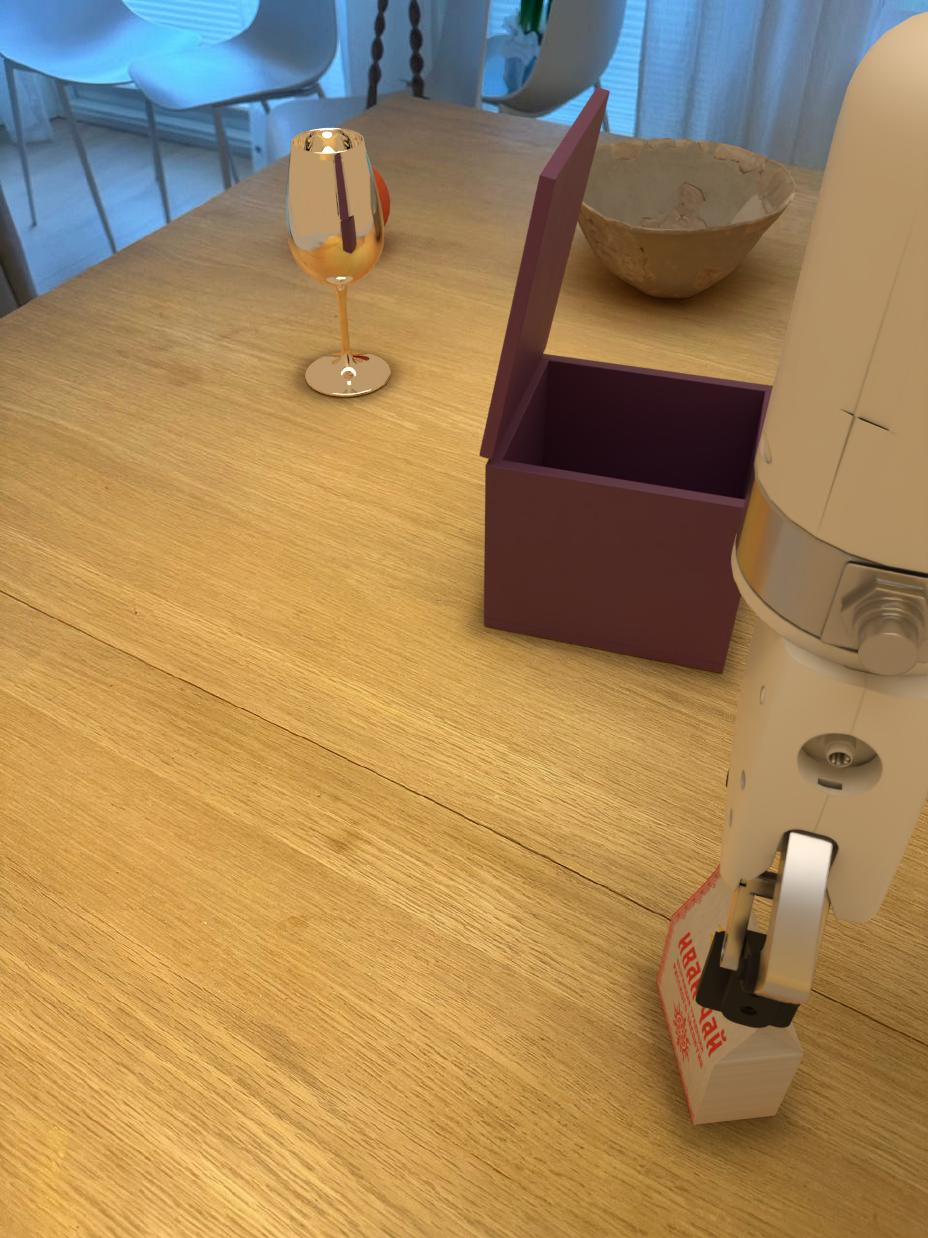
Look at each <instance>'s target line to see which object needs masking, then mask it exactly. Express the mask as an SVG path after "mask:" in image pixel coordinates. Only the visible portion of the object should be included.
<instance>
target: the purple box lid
mask: <svg viewBox="0 0 928 1238" xmlns="http://www.w3.org/2000/svg"><path fill="white" fill-rule="evenodd" d="M610 91H611V90H609V89H605V88H603V87H602V88H601V87H598V86H597V87H595V89H594V90H593V92H592V94H591V95H590V97H589V99H588V100H587V102H586V103H585V104H584V106H583V108H582V109H581V111H580V113H579V114H578V115H577V116H576V118H575V120H574V122H573V123H572V124H571V126H570V128H569V129H568V131H567V132H566V134H565V135H564V137H563V138H562V140H561V142H560V143H559V145H558V146H557V147H556V149H555V150H554V153H553V154H552V156H551V157H550V159H549V160H548V161H547V163H546V165H545V167H544V168H543V169H542V171H541V172H540V174H539V177H538V182H537V187H536V190H535V195H534V200H533V204H532V209H531V214H530V219H529V223H528V226H527V231H526V237H525V241H524V245H523V251H522V255H521V259H520V264H519V269H518V274H517V279H516V283H515V287H514V292H513V297H512V302H511V306H510V310H509V316H508V320H507V325H506V329H505V333H504V338H503V343H502V348H501V352H500V357H499V361H498V365H497V371H496V376H495V380H494V385H493V390H492V394H491V397H490V403H489V408H488V411H487V412H488V413H487V417H486V422H485V426H484V430H483V436H482V439H481V440H482V441H481V443H480V444H481V445H480V449H479V457H481V458H484V459H487V460H488V459H490V460H492V459H493V457H494V455H495V453H496V450H497V448H498V446H499V444H500V442H501V440H502V438H503V436H504V434H505V432H506V430H507V428H508V426H509V423H510V421H511V419H512V417H513V415H514V413H515V411H516V409H517V407H518V405H519V403H520V401H521V399H522V396H523V394H524V392H525V390H526V388H527V386H528V384H529V382H530V380H531V378H532V376H533V374H534V372H535V369H536V367H537V365H538V363H539V361H540V359H541V357H542V355H543V354H545V353H544V352H545V351H546V348H547V345H548V341H549V338H550V334H551V329H552V325H553V321H554V317H555V314H556V310H557V306H558V301H559V297H560V293H561V289H562V285H563V281H564V278H565V274H566V268H567V266H568V262H569V257H570V253H571V250H572V249H571V248H572V245H573V242H574V237H575V233H576V230H577V225H578V218H579V214H580V210H581V206H582V202H583V198H584V194H585V190H586V186H587V182H588V178H589V174H590V170H591V166H592V162H593V158H594V154H595V150H596V147H598V146H597V145H598V141H599V137H600V133H601V129H602V125H603V121H604V118H605V113H606V109H607V105H608V102H609V98H610V93H611V92H610Z"/></svg>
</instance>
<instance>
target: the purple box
mask: <svg viewBox="0 0 928 1238" xmlns="http://www.w3.org/2000/svg"><path fill="white" fill-rule="evenodd" d="M772 388H773V385H770V384H762V383H756V382H749V381H743V380H734V379H728V378H721V377H713V376H706V375H698V374H691V373H685V372H677V371H671V370H670V371H669V370H664V369H663V370H662V369H656V368H649V367H642V366H634V365H627V364H621V363H613V362H608V361H607V362H606V361H599V360H592V359H586V358H585V359H584V358H577V357H570V356H564V355H555V354H549V353H543V355H542V357H541V359H540V361H539V363H538V365H537V367H536V369H535V372H534V374H533V376H532V378H531V380H530V382H529V384H528V386H527V388H526V390H525V392H524V394H523V396H522V399H521V401H520V403H519V405H518V407H517V409H516V411H515V413H514V415H513V417H512V419H511V421H510V423H509V426H508V428H507V430H506V432H505V434H504V436H503V438H502V440H501V442H500V444H499V446H498V448H497V450H496V453H495V455H494V457H493V459H492V460H490V459H487V461H486V463H485V465H484V466H485V469H484V471H485V473H484V479H485V480H484V548H483V549H484V552H483V553H484V555H483V556H484V561H483V563H484V564H483V627H486V628H491V629H496V630H501V631H507V632H511V633H516V634H520V635H521V634H522V635H526V636H532V637H536V638H541V639H547V640H552V641H556V642H561V643H562V642H563V643H567V644H572V645H577V646H582V647H587V648H592V649H597V650H602V651H608V652H612V653H617V654H622V655H627V656H631V657H632V656H633V657H638V658H643V659H647V660H653V661H658V662H663V663H667V664H673V665H678V666H683V667H688V668H693V669H699V670H703V671H708V672H713V673H719V674H723V673H724V669H725V664H726V661H727V656H728V653H729V647H730V644H731V640H732V635H733V631H734V627H735V623H736V618H737V613H738V610H739V605H740V601H741V597H742V595H741V594H740V592H739V589H738V587H737V584H736V582H735V581H734V578H733V572H732V566H731V555H732V550H733V545H734V541H735V537H736V534H737V531H738V526H739V522H740V518H741V514H742V510H743V506H744V502H745V498H746V494H747V489H748V485H749V481H750V477H751V473H752V469H753V465H754V461H755V457H756V452H757V450H758V446H759V442H760V438H761V433H762V429H763V425H764V421H765V417H766V413H767V409H768V404H769V400H770V396H771V392H772Z"/></svg>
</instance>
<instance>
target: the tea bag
mask: <svg viewBox="0 0 928 1238" xmlns="http://www.w3.org/2000/svg"><path fill="white" fill-rule="evenodd" d="M733 894H734V892H733V891H732V890H731V889H730V888H729V886H728V885H727V884H726V883H725V881H724V880H723V878H722V876H721V874H720V863H719V864H718V865H717V867H716V868H715V870H714V871H713V872H712V873H711V875H709V877H708V878H707V879H706V881H705V882H704V883H703V884H702V885H701V886H700V887H699V888H698V889H697V890H696V891H695V892H694V893H693V894H692V895H691V896H690V897H689V898H688V899H687V900H686V901H685V902H684V903H683V904H682V905H681V906H680V907H679V908H678V909H677V910H676V911H675V912H673V914H672V915H671V919H670V922H669V927H668V931H667V935H666V939H665V942H664V948H663V951H662V956H661V960H660V964H659V969H658V973H657V977H656V981H655V982H656V986H657V991H658V994H659V997H660V1003H661V1005H662V1009H663V1010H662V1011H663V1013H664V1017H665V1021H666V1025H667V1028H668V1029H667V1030H668V1032H669V1037H670V1041H671V1045H672V1049H673V1052H674V1056H675V1060H676V1063H677V1068H678V1071H679V1075H680V1079H681V1084H682V1088H683V1091H684V1095H685V1099H686V1102H687V1107H688V1110H689V1114H690V1118H691V1122H692V1125H693V1126H696V1125H703V1124H705V1125H706V1124H712V1123H722V1122H729V1121H730V1122H731V1121H740V1120H748V1119H757V1118H765V1117H774V1116H776V1115H777V1113H778V1110H779V1108H780V1106H781V1104H782V1102H783V1100H784V1098H785V1096H786V1094H787V1092H788V1089H789V1087H790V1086H791V1083H792V1081H793V1079H794V1077H795V1075H796V1073H797V1071H798V1069H799V1067H800V1065H801V1062H802V1060H803V1058H804V1055H805V1054H804V1051H803V1048H802V1046H801V1042H800V1039H799V1037H798V1034H797V1031H796V1028H795V1025H794V1022H793V1021H792V1022H791V1024H790V1025H789V1026H788V1027H786V1028H778V1027H773V1026H770V1025H769V1026H767V1027H764V1028H752V1027H748V1026H744V1025H740V1024H737V1023H734V1022H731V1021H729V1020H728V1019H726V1018H725V1017H724V1016H723V1014H722V1012H719V1011H715V1010H712V1009H708V1008H705V1007H702V1006H700V1005H698V1004H697V1003H696V1001H695V999H696V992H697V985H698V982H699V979H700V976H701V973H702V970H703V967H704V965H705V962H706V959H707V956H708V953H709V950H710V947H711V944H712V941H713V938H714V935H715V932H716V931H717V932H720V931H726V926H727V922H728V917H729V913H730V908H731V904H732V899H733ZM747 930H751V931H755V932H759V933H762V930H761V928H760V925H759V922H758V919H757V916H756V912H755V910H754V908H753V906H752V910H751V915H750V919H749V924H748V928H747Z"/></svg>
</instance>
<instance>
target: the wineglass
mask: <svg viewBox="0 0 928 1238" xmlns="http://www.w3.org/2000/svg"><path fill="white" fill-rule="evenodd" d="M368 151H369V150H368V148H367V145H366V141H365V138H364V136H363V135H362V134H361V133H359V132H358V131H355V130H351V129H347V128H340V127H339V128H338V127H324V128H314V129H309V130H306V131H303V132H300V133H298V134H296V135H295V136H293V138H292V139H291V140H290V150H289V159H288V169H287V180H286V181H287V182H286V197H285V230H286V231H285V233H286V239H287V243H288V248H289V251H290V253H291V255H292V258H293V259H294V261H295V263H296V264H297V265H298V267H300V269H301V270H302V271H303V272H304V273H305V274H306V275H307V276H309V277H310V278H312V279H314V280H315V281H317V282H318V283H320V284H323V285H325V286H329V287H332V288H333V291H334V294H335V298H336V299H335V300H336V303H337V311H338V321H339V331H340V343H341V344H340V345H341V351H339V352H334V353H329V354H327V355H323V356H321V357H320V358H317V359H315V360H314V361H313V362H312V363H310V364H309V366H308V367H307V368H306V370H305V374H304V378H305V382H306V383H307V385H308V386H309V387H310V388H311V389H312V390H314V391H316V392H318V393H321V394H323V395H326V396H330V397H340V398H351V397H358V396H364V395H367V394H368V395H369V394H370V393H373V392H375V391H377V390H379V389H381V388H382V387H384V386H385V385H386V384H387V383H388V382H389V381H390V379H391V376H392V369H391V367H390V364H389V363H388V362H387V361H386V360H384V359H383V358H382V357H380V356H378V355H376V354H372V353H368V352H364V351H355V350H354V351H352V350H351V346H350V333H349V321H348V308H347V307H348V305H347V304H348V303H347V300H348V299H347V298H348V289H349V286H351V285H353V284H355V283H357V282H359V281H361V280H363V279H364V278H365V277H366V276H367V275H369V273H370V272H371V271H372V270H374V268H375V266H376V265H377V263H378V262H379V260H380V258H381V255H382V254H383V250H384V246H385V227H384V221H383V213H382V207H381V202H380V197H379V193H378V189H377V185H376V181H375V176H374V173H373V169H372V167H373V165H372V161H371V159H370V155H369V152H368Z"/></svg>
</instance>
